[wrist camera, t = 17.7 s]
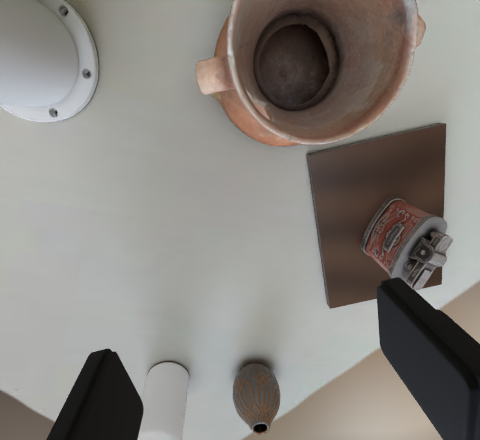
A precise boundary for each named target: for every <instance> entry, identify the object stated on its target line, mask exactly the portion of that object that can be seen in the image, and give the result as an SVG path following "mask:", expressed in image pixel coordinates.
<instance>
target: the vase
mask: <svg viewBox="0 0 480 440" xmlns="http://www.w3.org/2000/svg"><path fill="white" fill-rule="evenodd" d="M233 401H234V405H235V408H236V410H237V413H238V414H239V416H240V417H241V419H242V420H243V421H244V422H245V423H246V424H248V425H249V427H250V429H251V430H252V432H253V433H254V434H257V435H263V434H265V433H267V432H268V431H269V429H270V424H271V422H272V421H273V419H274V418H275V416H276V414H277V412H278V409H279V405H280V390H279V385H278V382H277V379H276V377H275V376H274V374H273V373H272V371H271V370H270V369H269V368H267V367H266V366H264V365H262V364H258V363H252V364H249V365H246V366H245V367H243V368H242V369H241V370H240V371H239V372H238V374H237V376H236V378H235V381H234V385H233Z"/></svg>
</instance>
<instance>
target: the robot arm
mask: <svg viewBox="0 0 480 440" xmlns="http://www.w3.org/2000/svg"><path fill="white" fill-rule="evenodd" d="M67 11H68V15H66V12H67ZM89 72H91V77H89V76H88V73H89ZM98 72H99V64H98V55H97V51H96V47H95V43H94V40H93V38H92V36H91V33H90V31H89V29H88V27H87V26H86V24H85V22H84V21H83V19H82V18H81V16H80V15H79V14H78V13H77V12H76V10H75V9H74V8H73V7H72V6H71V5H70V4H69V3H68V2H67V1H65V0H0V107H1V108H3V109H4V110H6V111H7V112H9V113H11V114H13V115H15V116H18V117H20V118H23V119H27V120H30V121H37V122H55V121H60V120H65V119H67V118H69V117H72V116H74V115H75V114H77V113H78V112H79V111H81V110H82V109H83V108H84V107H85V106H86V105H87V103H88V102H89V101H90V99H91V97H92V95H93V93H94V91H95V88H96V85H97V81H98ZM56 111H57V112H58V115H57V114H56ZM377 304H378V320H379V336H380V346H381V349H382V351H383V353H384V355H385V356H386V358H387V359H388V361H389V362H390V364H391V365H392V366H393V368H394V369H395V371H396V372H397V374H398V375H399V377H400V378H401V379H402V381H403V382H404V384H405V385H406V387H407V388H408V390H409V391H410V392H411V394H412V395H413V397H414V398H415V400H416V401H417V402H418V404H419V405H420V407H421V408H422V410H423V411H424V413H425V414H426V415H427V417H428V418H429V420H430V421H431V423H432V424H433V425H434V427H435V428H436V430H437V431H438V433H439V434H440V435H441V437H442V438H443V440H480V344H479V343H478V342H477V341H475V340H474V339H473V338H472V337H471V336H470V335H469V334H468V333H466V332H465V331H464V330H463V329H462V328H461V327H460V326H459V325H457V324H456V323H455V322H454V321H453V320H452V319H451V318H450V317H448V316H447V315H446V314H445V313H443V312H442V311H440V310H436V309H434V308H433V307H432V306H431V305H430V304H429V303H428V302H427V301H426V300H424V299H423V298H422V297H421V296H420V295H419V294H418V293H417V292H416V291H415V290H413V289H412V288H411V287H410V286H409V285H408V284H407V283H406V282H405V281H404V280H402V279H401V278H400V277H396V278H391V279H387V280H383V281H381V284H380V286H378V287H377ZM143 412H144V407H143V402H142V400H141V398H140V396H139V394H138V393H137V391H136V389H135V387H134V385H133V383H132V381H131V379H130V377H129V375H128V373H127V372H126V370H125V368H124V366H123V364H122V362H121V360H120V358H119V356H118V354H117V353H116V352H112V351H111V350H110V349H104V350H100V351H96V352H92V353H91V354H90V355H89V356H88V358H87V360H86V362H85V364H84V366H83V368H82V370H81V372H80V374H79V376H78V378H77V380H76V382H75V384H74V386H73V388H72V390H71V392H70V394H69V396H68V398H67V400H66V402H65V404H64V406H63V408H62V410H61V412H60V414H59V416H58V418H57V420H56V422H55V424H54V426H53V428H52V430H51V432H50V434H49V436H48V438H47V440H137V439H138V435H139V431H140V426H141V422H142V418H143Z"/></svg>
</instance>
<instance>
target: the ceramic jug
mask: <svg viewBox="0 0 480 440" xmlns="http://www.w3.org/2000/svg"><path fill="white" fill-rule="evenodd" d="M425 29H426V26H425V23H424V21H423V19H422V18H421V17H420V16H419V15H418V8H417V3H416V0H233V3H232V7H231V10H230V15H229V16H228V18H227V19H226V21H225V23H224V25H223V27H222V29H221V32H220V35H219V38H218V41H217V44H216V49H215V55H214V57H213V58H209V59H207V60H202V61H199V62H198V63H197V64H196V78H197V82H198V84H199V87H200V90H201V92H202V93H203V94H204V95H207V94H212V95H213V96H214V97H215V98H216V99H217V100H218V101H219V102H220V103H221V105H222V107H223V109H224V111H225V112H226V114H227V116H228V117H229V118H230V120H231V121H232V122H233V123H234V124H235V125H236V126H237V127H238V128H239V129H240V130H241V131H242V132H243V133H245V134H246V135H247V136H249V137H251V138H252V139H254V140H256V141H259V142H261V143H264V144H268V145H273V146H294V145H299V144H310V145H312V144H314V145H318V144H328V143H333V142H337V141H340V140H343V139H346V138H348V137H351V136H352V135H354V134H357V133H358V132H359V131H361V130H363V129H364V128H366V127H367V126H369V125H370V124H372V123H373V122H374V121H375V120H376V119H377V118H378V117H379V116H381V115H382V114H383V113H384V112H385V111H386V109H387V108H388V107H389V106H390V105H391V103H392V102H393V101H394V100H395V98H396V97H397V96H398V94H399V92H400V91H401V89H402V87H403V85H404V83H405V82H406V80H407V78H408V75H409V73H410V70H411V67H412V64H413V58H414V50H415V47H417V46H419V45H420V43H421V40H422V38H423V36H424V33H425Z"/></svg>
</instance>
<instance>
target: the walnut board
mask: <svg viewBox="0 0 480 440" xmlns="http://www.w3.org/2000/svg"><path fill="white" fill-rule="evenodd" d="M445 144H446V124H444V123H438V124H434V125H429V126H425V127H421V128H417V129H412V130H408V131H404V132H399V133H395V134H391V135H386V136H382V137H378V138H374V139H369V140H365V141H361V142H356V143H352V144H348V145H344V146H339V147H335V148H331V149H326V150H322V151H318V152H313V153H309V154H307V161H308V169H309V176H310V183H311V190H312V197H313V205H314V212H315V219H316V226H317V234H318V241H319V248H320V255H321V262H322V270H323V277H324V284H325V291H326V298H327V304H328V306H329V308H330V309H331V308H336V307H340V306H345V305H349V304H354V303H358V302H363V301H368V300H372V299H377V287H378V286H380V284H381V281H383V280H387V279H391V277H390V276H389V273H388V272H387V271H385V270H384V269H383V268H382V267H381V266H380V265H379V264H378V263H377V262H376V261H375V260H374V259H373V258H372V257H371V256H369V255H367V254H366V253H365V252H364V251H363V250H362V249H361V242H362V240H363V237H364V234H365V232H366V230H367V228H368V226H369V224H370V222H371V220H372V219H373V217H374V216H375V214H376V213H377V211H378V210H379V209H380V207H381V206H382V205H383V204H384V202H385V201H386V200H387V199H389V198H391V197H398V198H400V199H402V200H404V201H405V202H406V203H407V204H409V205H411V206H414V207H416V208H418V209H420V210H422V211H424V212H426V213H428V214H430V215H436V216H439V217H441V218H442V219H443V215H444V180H445ZM440 284H442V266H441V267H436V268H435V269H434V270H433V272H432V274H431V276H430V277H429V279H428V280H427V281H426V283H425V284H424V286H423V287H422V288H427V287H431V286H436V285H440ZM413 290H414V289H413Z"/></svg>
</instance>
